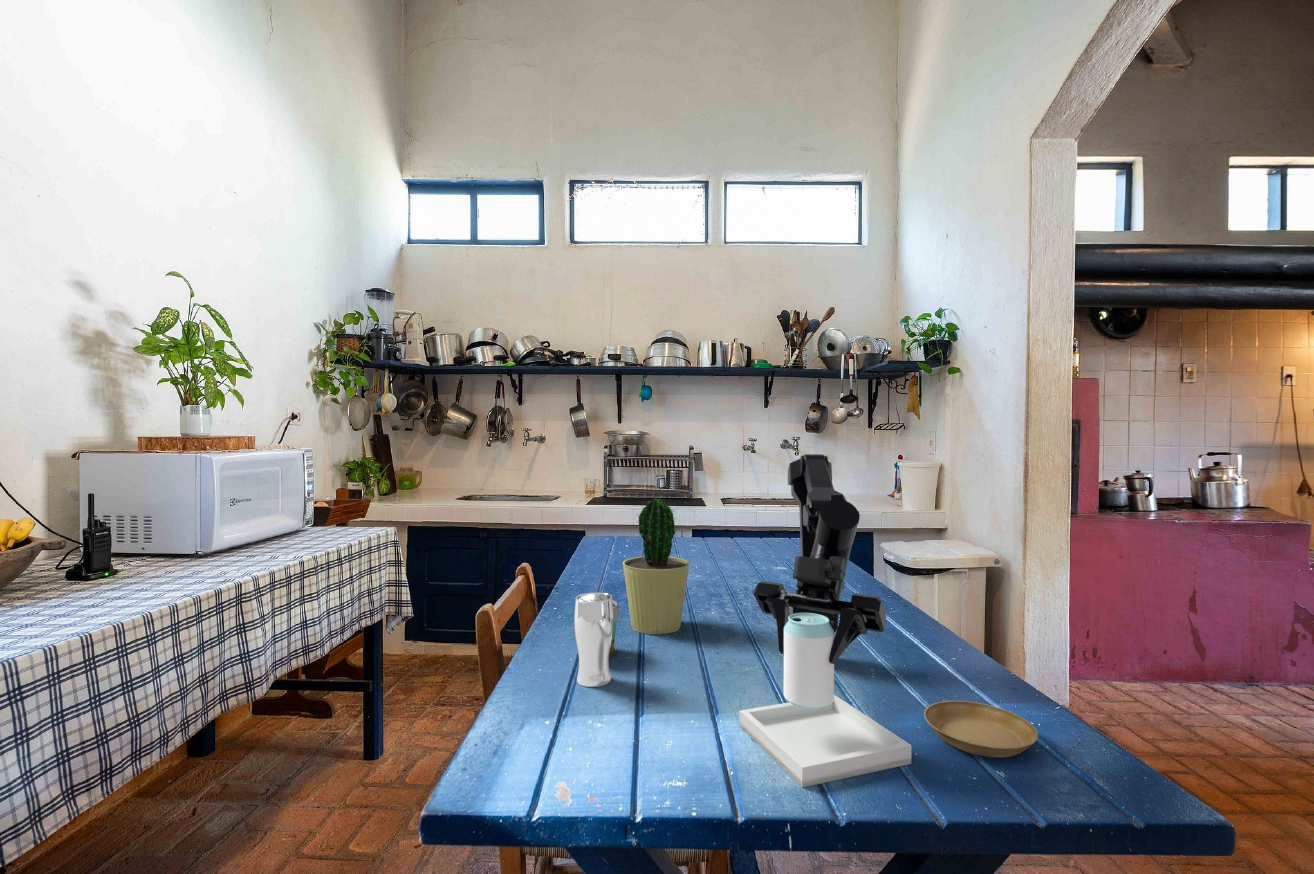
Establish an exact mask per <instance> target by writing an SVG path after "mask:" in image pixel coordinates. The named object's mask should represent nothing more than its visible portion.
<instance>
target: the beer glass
mask: <svg viewBox="0 0 1314 874" xmlns="http://www.w3.org/2000/svg"><path fill="white" fill-rule="evenodd" d="M612 600H613V596H612V595H611V594H610V593H605V592H585V593H581V594H578V595H577V596H576V597H575V605H574V606H575V607H574V633H575V635H574V636H575V641H576V646H577V652H578V653H577V654H578V670H577V677H576V683H577V684H578V685H579V686H581V687H585V688H599V687H603V686H606V685H608V684H609V683H610V682H611V681H612V676H611V670H610V665H609V664H610V660H609V659H610V658H609V652H610V646H611V640H612V634H613V620H614V619H613V602H612Z"/></svg>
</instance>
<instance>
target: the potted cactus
mask: <svg viewBox="0 0 1314 874" xmlns="http://www.w3.org/2000/svg"><path fill="white" fill-rule="evenodd" d="M646 503H647V504H645V506H644V507H641V511H640V512H639V513H637V516H638V520H637V521H635V523H638V525H637V527H636V528H638V531H635V534H636V533H638V535H639V537H641V538H639V541H640V540H641V541H642V542H641V546H642V548H641V549H642V551H643V555H644V556H637V557H631V558H627V559H624V561H622V565H623V576H624V581H625V588H626V596H627V603H628V610H629V616H630V617H629V618H630V625H631V628H632V630H633V631H635V632H638V633H640V634H646V635H667V634H671V633H674V632H678V631H679V630H680V628H681V625H682V619H683V611H684V603H685V597H686V589H687V583H688V575H689V569H690V568H689V567H690V562H689V560H686V559H683V558H681V557H674V556H671V554H673V552H672V548H673V547H674V545H673V543H674V540H675V539H676V540H678V536H677V534H676V533H677V532H676V531H677V530H678V529H676V528H675V527H676V525H675V520H677V519H678V518H677V517H674V516H675V513H674V512H675V509H673V508H672V507H671V506H669V505H668V502H667V501H666V500H664V499H662V498H652V500H647V501H646Z"/></svg>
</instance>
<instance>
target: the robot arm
mask: <svg viewBox="0 0 1314 874" xmlns="http://www.w3.org/2000/svg"><path fill="white" fill-rule="evenodd" d="M832 469H833V467H832V463H831V462H830V461H829V458H828V455H824V454H819V453H817V454H813V453H812V454H803V455H800V458H798V459H796V460H793V461H792V462H790V463H789V465H788V468H787V486H790V494H791V497H792V498H793V499H794V501H795V502H796V504H797V505H798V508H799V509H798V511H799V532H800V533H799V537H800V555H796V556H795V557H794V565H793V572H792V579H795V580H797V581H796V588H795V589H794V591H793V593H790V592H787V591H786V589H785V586H784V584H783V583H780V582H774V581H773V582H772V581H765V580H761V581H759V582H758V583H757V584H756V585H755V588H754V591H753V596H754V598H755V600H756V602H757V604H758V606H759V608H760V611H761V612H762V613H764V614H765V615H771V616H772V617H773V619H774V620H775V621H776V628H777V631H776V632H777V642H778V651H779V654H780V655H784V626H785V625H786V623H787V622H788V621H789V619H788V617H789V616H790V615H792V614H795V613H814V614H819V615H823V616H825V617H827V618H828V619H829V620H830V622H829V624H830V625H831V627H832V629H833V630H834V633H835V634H834V642H833V645H832V648H831V653H830V663H831V664H834V665H835V663H836V662H837V660H838V659H839V658H840V657H841V656H842V655H843V653H844V652H845V650H846V649H847V648H848V646H850V645H851V644H852V643H853V642H854V641H855V640H856V639H857V638H858V637H859V636H860V635H867V634H868V631H871V632H876V633H882V632H885V631H886V624H887V614H886V610H885V606H884V604H883V600H882V599H881V598H880V596H879V595H873V594H872V595H871V594H865V593H856V592H854V593H853V594H852V596H851V600H850V601H847V600H841V597H842V591H843V590H844V589H845V586H846V581H845V578H846V573H847V568H848V565H849V560H850V555H851V550H852V546H853V544H854V540H855V537H856V533H857V531H858V525H859V524H860V517H861V515H860V512H859V510H858V509H857V508H856V506H854V505H853V504H852V503H851V502H849V501H847V499H846V497H845V495H844V494H843V493H841V492H839V491H837V490H835V487H834V486H833V485H834V484H833V470H832Z"/></svg>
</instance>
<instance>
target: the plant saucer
mask: <svg viewBox="0 0 1314 874" xmlns="http://www.w3.org/2000/svg"><path fill="white" fill-rule="evenodd" d="M923 716H924V719H925V721H926V722H927V724H928V726H929V727H930V728H931V730H933V732H934V733H935V734H937V735H938V737H939V738H941V740H943V742H945V743H947V744H948V745H950V746H952V747H954V748H956V749H958V750H960V751H963V752H966V753H969V754H972V755H976V756H979V757H981V756H982V757H986V758H996V759H997V758H998V759H1001V758H1011V757H1013V756H1014V757H1015V756H1017V755H1019V754H1021V753H1023V752H1024V751H1026V750H1028V749H1029V748H1030V747H1032V746H1033V745H1034V744H1035V743H1036V742H1037V740H1038V739H1039V733H1038V730H1037V728H1036V727H1035V726H1034V725H1033V724H1032V723H1031V722H1030V721H1028V720H1026V719H1025V718H1023V717H1022V716H1021V715H1018V714H1017V713H1014V712H1012V711H1009V710H1007V709H1004V708H1001V707H998V706H994V705H991V704H990V705H989V704H986V703H981V702H974V701H968V700H967V701H966V700H945V701H939V702H935V703H932V704H930V705H928V706H927V707H926V708H925V709H924V712H923Z"/></svg>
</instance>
